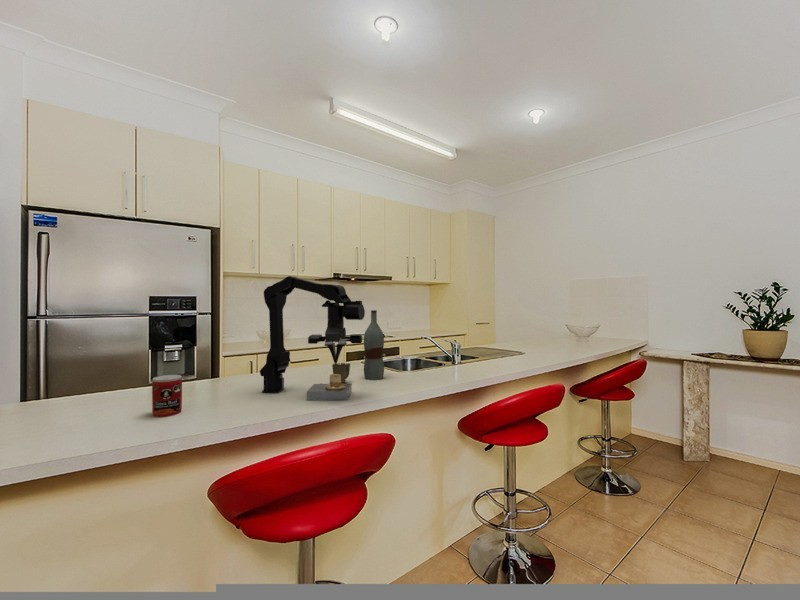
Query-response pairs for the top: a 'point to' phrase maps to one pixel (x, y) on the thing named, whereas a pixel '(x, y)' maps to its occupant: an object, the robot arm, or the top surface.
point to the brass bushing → (335, 382)
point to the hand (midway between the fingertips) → (335, 362)
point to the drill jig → (328, 393)
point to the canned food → (166, 395)
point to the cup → (341, 370)
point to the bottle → (373, 350)
